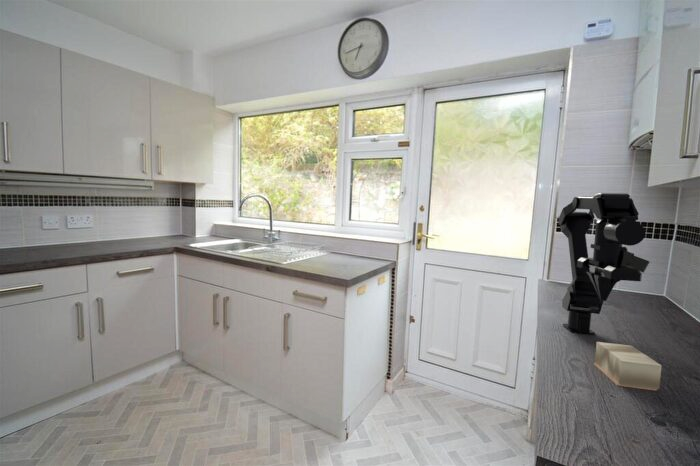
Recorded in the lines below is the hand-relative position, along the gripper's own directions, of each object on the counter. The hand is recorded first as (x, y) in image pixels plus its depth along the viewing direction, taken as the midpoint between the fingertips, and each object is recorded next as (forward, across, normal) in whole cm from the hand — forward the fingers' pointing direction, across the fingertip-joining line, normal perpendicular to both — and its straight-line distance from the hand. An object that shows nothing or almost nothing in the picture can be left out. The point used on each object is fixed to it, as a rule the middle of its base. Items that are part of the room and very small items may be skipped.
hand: (602, 300), depth 84 cm
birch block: (+10, -10, +2) cm, 15 cm away
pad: (+13, -16, +2) cm, 21 cm away
